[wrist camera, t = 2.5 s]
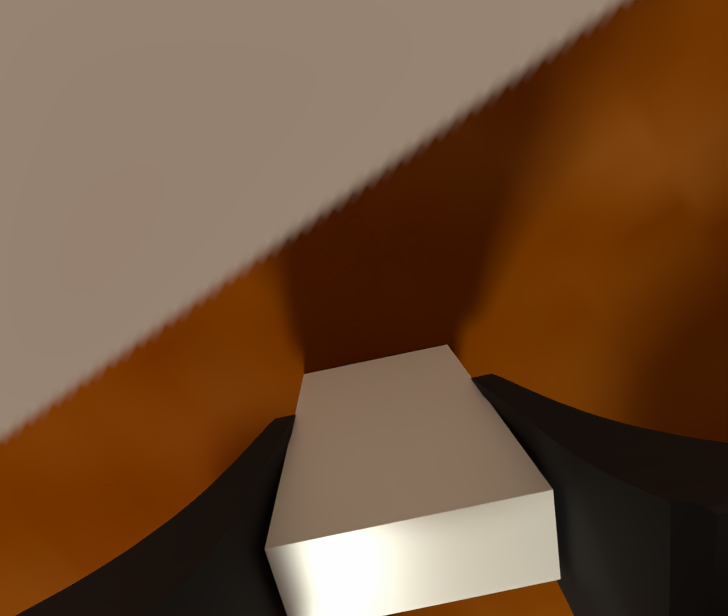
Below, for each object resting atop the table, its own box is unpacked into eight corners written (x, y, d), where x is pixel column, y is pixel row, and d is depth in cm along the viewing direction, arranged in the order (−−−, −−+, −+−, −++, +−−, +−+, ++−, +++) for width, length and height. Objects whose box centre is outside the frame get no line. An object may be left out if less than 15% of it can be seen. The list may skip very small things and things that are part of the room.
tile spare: (447, 344, 13) (553, 489, 7) (455, 396, 14) (560, 579, 7) (304, 374, 13) (265, 549, 7) (317, 424, 14) (293, 634, 7)
